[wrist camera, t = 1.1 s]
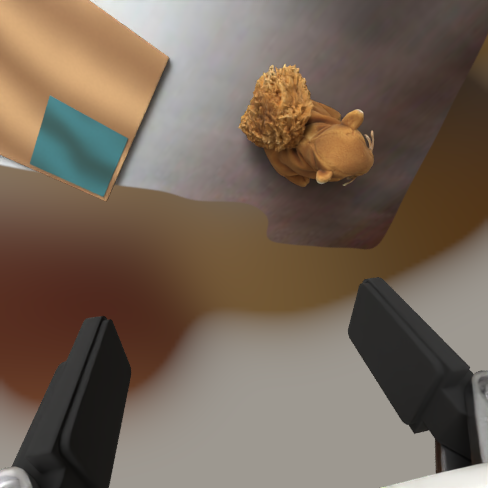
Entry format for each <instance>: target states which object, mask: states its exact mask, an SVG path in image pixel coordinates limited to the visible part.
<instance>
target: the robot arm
mask: <svg viewBox="0 0 488 488" xmlns="http://www.w3.org/2000/svg"><path fill="white" fill-rule="evenodd" d="M348 334H349V338H350V339H351V341H352V342H353V344H354V346H355V347H356V349H357V350H358V352H359V354H360V355H361V357H362V358H363V360H364V362H365V363H366V365H367V366H368V368H369V369H370V371H371V373H372V374H373V376H374V377H375V379H376V381H377V382H378V384H379V385H380V387H381V388H382V390H383V391H384V393H385V395H386V396H387V398H388V400H389V401H390V403H391V404H392V406H393V407H394V409H395V411H396V412H397V413H398V415H399V417H400V418H401V420H402V421H403V422H404V423H405V424H407V425H409V426H410V428H411V429H412V431H413V432H414V434H415V433H419V432H424V431H428V430H429V431H430V432H431V434H432V435H433V436H434V438H435V460H436V461H435V462H436V474H433V475H429V476H425V477H421V478H417V479H413V480H409V481H406V482H401V483H397V484H393V485H389V486H385V487H381V488H488V371H478V372H476V373H475V374H473V373H472V372H471V371H470V370H469V369H470V367H469V366H468V365H467V364H466V363H465V362H464V361H463V360H462V359H461V358H460V357H459V356H458V355H457V354H456V353H455V352H454V351H453V350H452V349H451V348H450V347H449V346H448V345H447V344H446V343H445V342H444V341H443V339H442V338H440V337H439V336H438V334H437V333H436V332H435V331H434V330H432V329H431V327H430V326H429V325H428V324H427V323H426V322H425V321H424V320H423V319H422V318H421V317H420V316H419V315H418V314H417V313H416V312H415V311H414V310H412V308H411V307H410V306H409V305H408V304H407V303H406V302H405V301H404V300H403V299H402V298H401V297H400V296H399V295H398V294H397V293H396V292H395V291H394V290H393V289H392V288H391V287H390V286H389V285H388V284H387V283H386V282H385V281H384V280H383V279H382V278H379V277H377V278H370V279H365V280H364V281H363V283H362V284H360V286H359V289H358V293H357V297H356V301H355V304H354V308H353V313H352V316H351V320H350V324H349V328H348ZM130 377H131V367H130V364H129V362H128V360H127V357H126V354H125V352H124V349H123V347H122V344H121V341H120V339H119V336H118V334H117V332H116V329H115V326H114V324H113V321H112V320H111V319H110V320H107V318H106V317H105V316H101V317H94V318H87V319H85V321H84V322H83V324H82V327H81V329H80V331H79V334H78V336H77V338H76V340H75V343H74V345H73V347H72V350H71V352H70V354H69V357H68V359H67V361H65V362H63V363H61V364H60V365H59V366H58V368H57V370H56V372H55V374H54V376H53V378H52V380H51V383H50V385H49V387H48V389H47V391H46V394H45V396H44V398H43V400H42V402H41V404H40V407H39V409H38V411H37V413H36V415H35V417H34V419H33V422H32V424H31V426H30V428H29V430H28V432H27V435H26V437H25V439H24V441H23V443H22V445H21V448H20V450H19V452H18V454H17V456H16V458H15V461H14V463H13V465H12V467H9V468H4V469H1V470H0V488H109V484H110V479H111V474H112V469H113V464H114V459H115V453H116V449H117V444H118V439H119V433H120V428H121V423H122V418H123V413H124V408H125V402H126V398H127V392H128V388H129V383H130Z"/></svg>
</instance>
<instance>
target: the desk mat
mask: <svg viewBox="0 0 488 488" xmlns="http://www.w3.org/2000/svg"><path fill="white" fill-rule="evenodd" d="M168 60H169V57H168V56H166V55H165V54H164V53H162V52H161V51H159V50H158V49H157V48H155V47H154V46H152V45H151V44H150V43H148V42H147V41H145V40H144V39H143V38H141V37H140V36H138V35H137V34H136V33H134V32H133V31H131V30H130V29H129V28H127V27H126V26H124V25H123V24H122V23H120V22H119V21H117V20H116V19H115V18H113V17H112V16H111V15H109V14H108V13H106V12H105V11H104V10H102V9H101V8H99V7H98V6H97V5H95V4H94V3H92V2H91V1H90V0H0V155H2V156H4V157H6V158H8V159H11V160H13V161H15V162H18V163H20V164H22V165H24V166H27V167H29V168H31V169H33V170H36V171H38V172H40V173H42V174H45V175H47V176H49V177H52V178H54V179H56V180H58V181H61V182H63V183H65V184H67V185H70V186H72V187H74V188H77V189H79V190H81V191H84V192H86V193H88V194H90V195H92V196H95V197H97V198H99V199H102V200H104V201H107V200H108V198H109V195H110V193H111V191H112V189H113V186H114V184H115V182H116V180H117V177H118V175H119V173H120V170H121V168H122V166H123V163H124V161H125V159H126V156H127V154H128V152H129V150H130V147H131V145H132V143H133V140H134V138H135V136H136V133H137V131H138V129H139V127H140V124H141V122H142V120H143V117H144V115H145V113H146V110H147V108H148V106H149V104H150V101H151V99H152V97H153V94H154V92H155V90H156V87H157V85H158V83H159V80H160V78H161V76H162V74H163V71H164V69H165V67H166V64H167V62H168Z"/></svg>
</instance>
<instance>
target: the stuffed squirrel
mask: <svg viewBox="0 0 488 488" xmlns="http://www.w3.org/2000/svg"><path fill="white" fill-rule="evenodd" d="M295 66H296V64H295V65H294V66H289V67H286V64H284V67H283V68H282V70H281V68H280V69H277V68H276V67H275V68H276V73H275V71H274V67H273V65H272V66H270V68H269V71H268V72H267V73H264V72H263V76H261V77H260V79H259V80H257V84H256V87H255V91H254V92H253V94H254V97H253V98H252V100H251V101H250V105H248V109H247V111H246V112H245V114H244V115H243V116H242V117H241V118H242V120H241V123H240V125H239V126H240V127H238V128H240V129H241V130H242V131H243V133H245V134H246V136H247V138H248V140H250V141H252V142H254V143H255V145H257V146H259V147H263V148H264V150H265V153H266V155H267V157H268V159H269V161H270V162H271V164H272V166H273V167H274V168H275V170H276V171H277V172H278V173H279V174H280V175H281V176H284V177H285V178H287V179H288V180H289V181H291V182H293V183H294V184H296V185H299V186H301V187H305V186H306V185H307V184H308V183H309V180H310V178H311V179H316V180H317V182H318V183H320V184H323V183H326V182H328V181H330V182H333V181H339V180H341V179H343V178H345V177H346V179H347V180H348V179H352V180H351V181H350V182H348V183H345V184H343V186H346V185H347V184H349V183H351V182H352V181H353V180H354V179H355V178H356V177H357V176H360V175H363V174H365V173H367V172H368V171H369V169H370V168H371V167H372V165H373V162H374V160H373V159H374V156H373V154H372V151H373V146H374V138H373V131H371V137H372V143H371V140H370V138H369V137H368V135H365V137H366V139H367V140H368V142H369V148H368V147H367V146H366V143H365V139H364V137H363V136H362V134H361V133H360V132H359V131H358V130H357V128H358V127H359V126H360V125H361V124H362V122H363V116H364V114H363V112H362V111H361V110H359V109H356V110H354V111H352V112H350V113H348V114H347V115H346V116H345V117H344V118H343V119H342V121H340V119H341V115H340V113H339V112H337V111H336V110H334V109H332V108H331V107H328V106H326V105H323V104H321V103H318V102H315V101H313V100H311V99H310V91H309V90H308V89H307V85H305V83H306V81H305V78H302V77H301V74H299V69H297V68H295ZM349 176H351V177H349Z"/></svg>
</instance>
